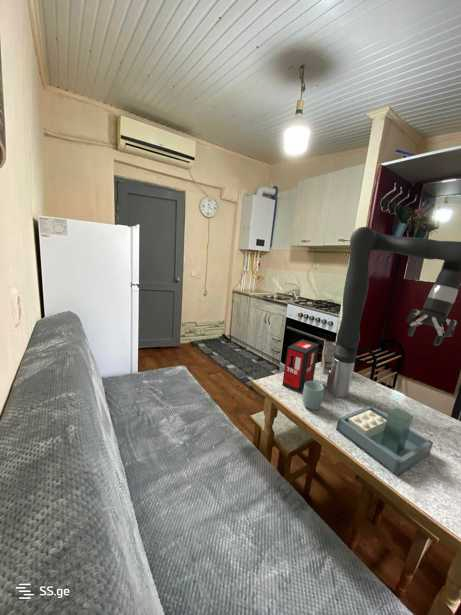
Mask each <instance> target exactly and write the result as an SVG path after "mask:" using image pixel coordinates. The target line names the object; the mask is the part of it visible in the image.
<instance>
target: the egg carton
mask: <svg viewBox="0 0 461 615" xmlns="http://www.w3.org/2000/svg"><path fill="white" fill-rule="evenodd" d="M386 421H387V420H385V419H383V418H382V417H381V416H379V415H377V414H375V413H374V412H373V411H371V410H368V411H366V412H363V413H361V414H358V415H356V416H353V417H351V418H349V419H348V423H349V424H350V425H352V426H353V427H355V428H356V429H357V430H359V431H360V432H362V433H363V434H364V435H366V436H367V437H369V438H370V437H372V436H374V435H376V434H378V433H380V432H382V431H384V429H385V425H386Z"/></svg>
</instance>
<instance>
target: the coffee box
mask: <svg viewBox="0 0 461 615" xmlns="http://www.w3.org/2000/svg"><path fill="white" fill-rule="evenodd" d="M323 342H324V343H323V344H324V345H323V349H322V354H321V355H322V356H321V361H320V369H321V372H322V374H325V375H328V373H329V371H330V370H331V367H332V362H333V356H334V351H335V346H336V341H329V340H324V341H323Z"/></svg>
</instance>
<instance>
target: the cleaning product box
mask: <svg viewBox="0 0 461 615" xmlns="http://www.w3.org/2000/svg"><path fill="white" fill-rule="evenodd" d="M319 347H320V344H319V343H316V342H313V341H309V340H306V339H301V340H298V341H297V342H294V343H293V344H291V345H289V346H288V347H287V349H286V354H285V355H286V356H285V363H284V364H285V365H284V368H283V369H284V370H283V378H282V384H281V386H282V387H285V388H287V389H289V390H290V391H293V392H295V393H296V392H297V394H300V393H301V392H302V391H303V389H304V384H305V382H307V381H314V377H315V372H316V364H317V358H318V355H319V354H318V353H319Z"/></svg>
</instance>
